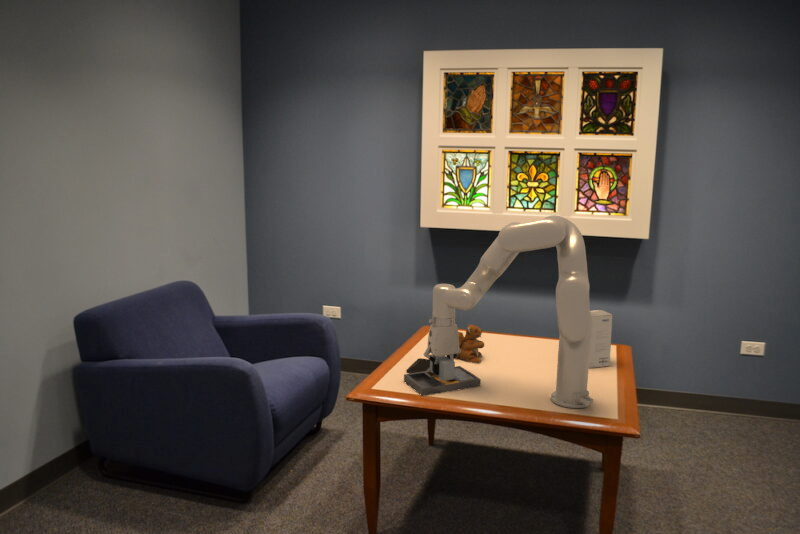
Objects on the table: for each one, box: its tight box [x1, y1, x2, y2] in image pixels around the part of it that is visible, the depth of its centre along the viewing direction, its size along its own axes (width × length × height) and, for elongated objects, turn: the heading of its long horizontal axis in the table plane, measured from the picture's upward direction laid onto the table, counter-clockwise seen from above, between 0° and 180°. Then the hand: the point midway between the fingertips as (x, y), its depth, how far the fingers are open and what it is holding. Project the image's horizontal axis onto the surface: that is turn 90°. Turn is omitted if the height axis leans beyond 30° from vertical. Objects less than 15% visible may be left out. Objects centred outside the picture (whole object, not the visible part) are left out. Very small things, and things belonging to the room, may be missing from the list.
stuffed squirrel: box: [454, 323, 485, 364], centre depth 236 cm, size 10×14×13 cm
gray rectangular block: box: [430, 353, 456, 381], centre depth 210 cm, size 10×4×6 cm, turn 25°
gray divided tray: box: [403, 365, 481, 397], centre depth 210 cm, size 14×22×3 cm, turn 115°
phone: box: [405, 358, 430, 374], centre depth 226 cm, size 8×1×15 cm
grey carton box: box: [589, 309, 614, 369], centre depth 229 cm, size 16×8×20 cm, turn 105°
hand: (442, 372), depth 210 cm, fingers closed on gray rectangular block, 4 cm apart
